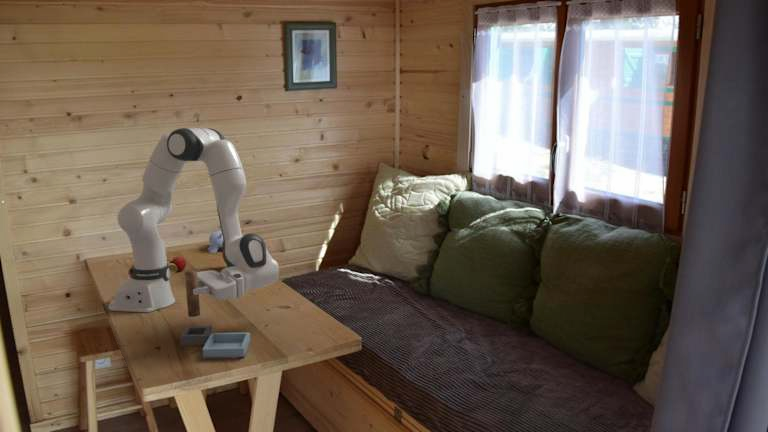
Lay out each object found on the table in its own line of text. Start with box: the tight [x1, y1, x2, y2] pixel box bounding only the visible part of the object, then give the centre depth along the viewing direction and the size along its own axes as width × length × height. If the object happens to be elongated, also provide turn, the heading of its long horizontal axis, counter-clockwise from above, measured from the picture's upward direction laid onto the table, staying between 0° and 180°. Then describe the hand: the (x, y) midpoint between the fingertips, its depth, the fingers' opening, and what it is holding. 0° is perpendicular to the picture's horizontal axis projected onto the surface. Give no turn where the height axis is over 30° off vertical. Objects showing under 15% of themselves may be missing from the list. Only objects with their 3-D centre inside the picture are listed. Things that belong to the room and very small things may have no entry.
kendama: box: [167, 256, 187, 275], centre depth 287 cm, size 8×6×18 cm
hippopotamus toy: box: [207, 230, 223, 254], centre depth 320 cm, size 11×15×10 cm
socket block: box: [179, 325, 213, 347], centre depth 222 cm, size 8×8×3 cm
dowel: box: [184, 269, 201, 318], centre depth 218 cm, size 4×4×14 cm
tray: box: [202, 331, 252, 360], centre depth 214 cm, size 12×12×3 cm
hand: (189, 289), depth 218 cm, fingers closed on dowel, 4 cm apart
